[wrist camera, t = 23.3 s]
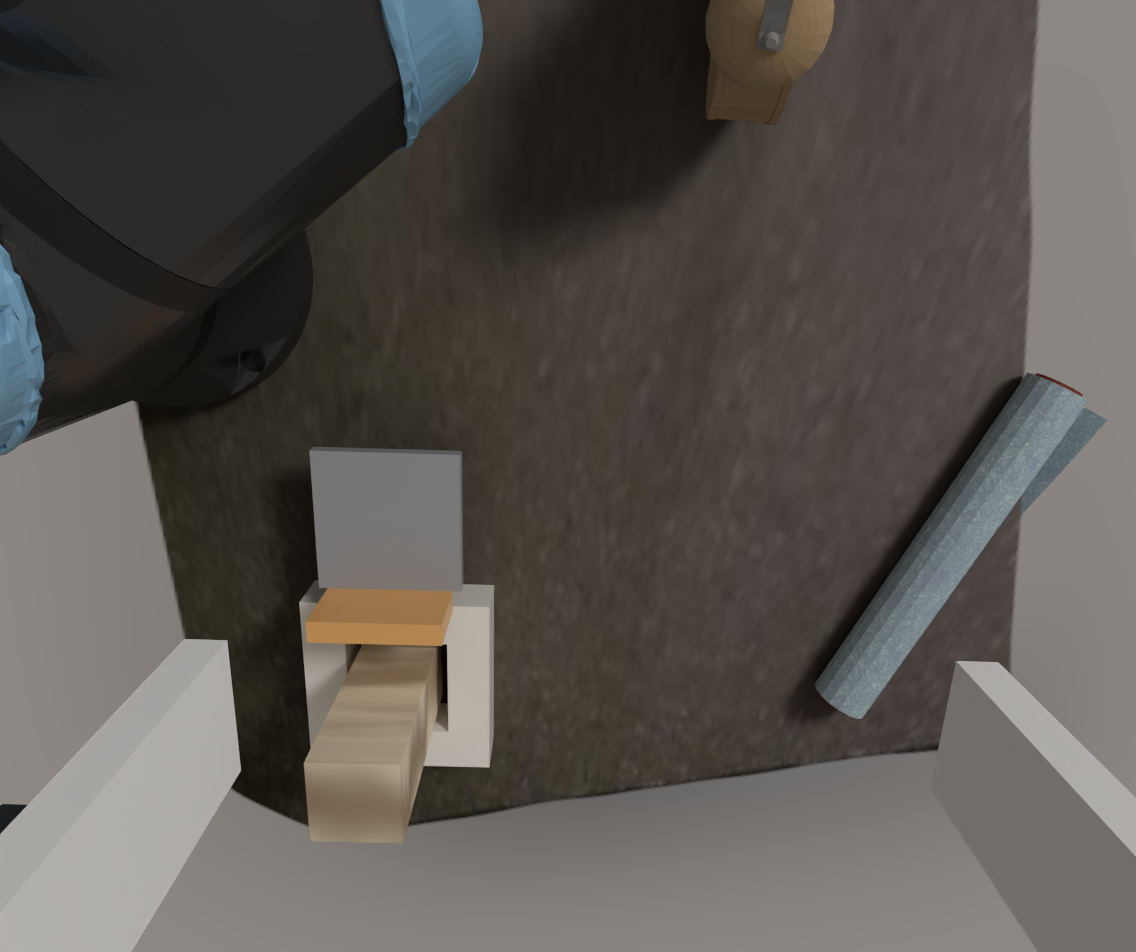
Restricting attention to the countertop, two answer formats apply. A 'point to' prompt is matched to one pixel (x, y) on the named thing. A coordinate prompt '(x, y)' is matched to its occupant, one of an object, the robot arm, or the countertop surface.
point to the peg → (374, 745)
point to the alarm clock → (761, 54)
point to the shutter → (386, 544)
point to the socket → (469, 669)
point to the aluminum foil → (960, 534)
